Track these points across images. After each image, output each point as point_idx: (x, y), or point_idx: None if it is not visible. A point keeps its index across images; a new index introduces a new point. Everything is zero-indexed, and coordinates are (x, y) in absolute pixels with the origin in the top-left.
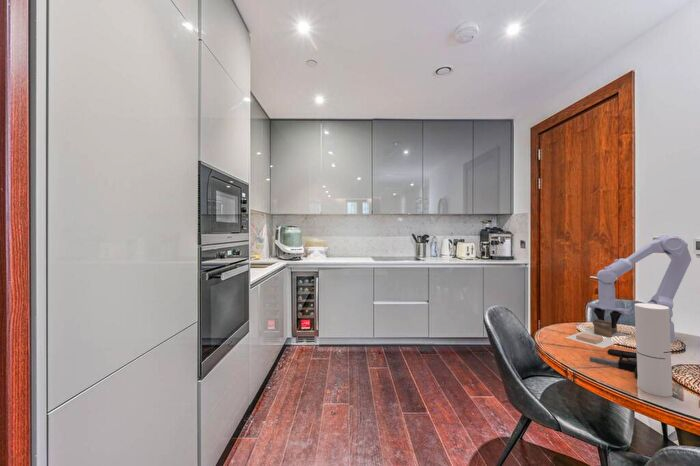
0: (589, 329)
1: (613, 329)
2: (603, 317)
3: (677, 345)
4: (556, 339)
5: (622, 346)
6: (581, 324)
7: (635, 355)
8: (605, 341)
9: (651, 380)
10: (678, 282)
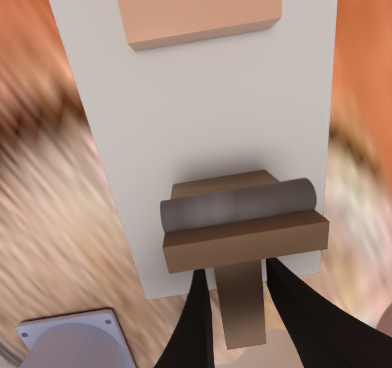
0: None
1: (216, 284)
2: (298, 343)
3: (9, 339)
4: None
5: (38, 95)
6: (388, 271)
7: None
8: (127, 67)
9: None
10: None
